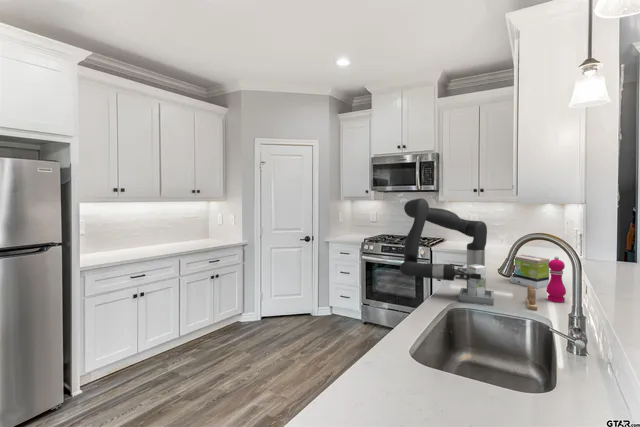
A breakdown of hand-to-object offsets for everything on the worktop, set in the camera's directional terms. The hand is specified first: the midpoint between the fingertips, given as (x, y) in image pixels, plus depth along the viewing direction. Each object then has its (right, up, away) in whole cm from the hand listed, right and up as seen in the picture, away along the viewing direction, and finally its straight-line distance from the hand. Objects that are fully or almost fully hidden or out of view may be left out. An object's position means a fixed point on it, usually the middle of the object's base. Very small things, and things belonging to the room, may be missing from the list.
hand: (481, 274), depth 158 cm
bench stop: (+18, -12, -8) cm, 23 cm away
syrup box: (-2, -11, +1) cm, 11 cm away
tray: (-2, -11, +1) cm, 12 cm away
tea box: (+38, -10, +27) cm, 47 cm away
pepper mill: (+32, -11, -2) cm, 34 cm away
